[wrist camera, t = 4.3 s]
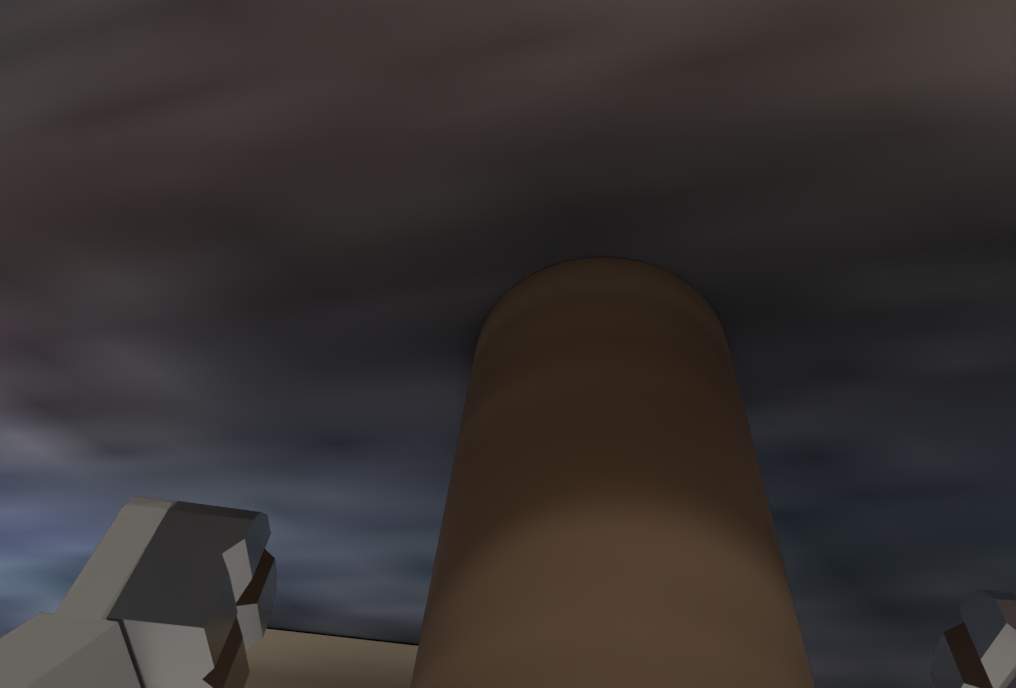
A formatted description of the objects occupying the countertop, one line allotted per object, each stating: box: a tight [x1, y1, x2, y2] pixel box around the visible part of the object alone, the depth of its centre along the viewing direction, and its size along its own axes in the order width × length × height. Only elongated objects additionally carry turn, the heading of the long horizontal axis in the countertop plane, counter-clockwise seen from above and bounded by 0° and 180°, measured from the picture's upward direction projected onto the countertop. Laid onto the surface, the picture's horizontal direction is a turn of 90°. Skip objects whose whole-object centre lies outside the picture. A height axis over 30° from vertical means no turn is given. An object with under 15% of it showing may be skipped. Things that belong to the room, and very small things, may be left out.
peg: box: [410, 257, 815, 688], centre depth 9 cm, size 4×4×10 cm
